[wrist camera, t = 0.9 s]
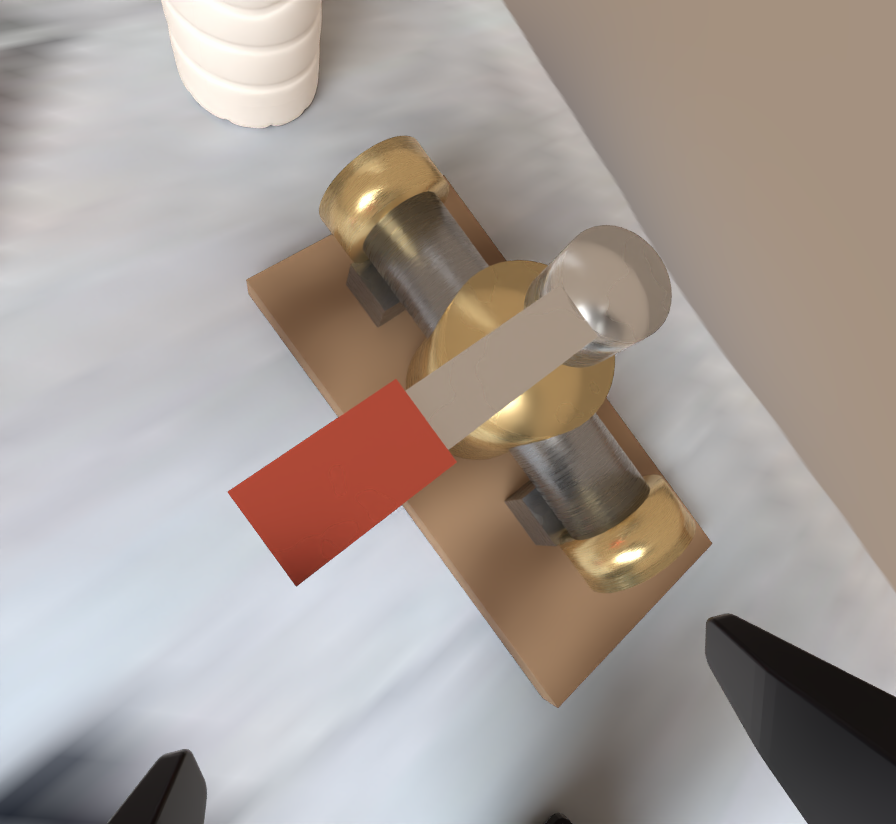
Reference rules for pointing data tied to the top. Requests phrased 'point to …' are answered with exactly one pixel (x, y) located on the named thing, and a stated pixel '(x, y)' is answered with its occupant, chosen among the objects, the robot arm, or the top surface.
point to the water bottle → (247, 56)
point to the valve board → (465, 476)
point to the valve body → (535, 411)
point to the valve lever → (452, 401)
